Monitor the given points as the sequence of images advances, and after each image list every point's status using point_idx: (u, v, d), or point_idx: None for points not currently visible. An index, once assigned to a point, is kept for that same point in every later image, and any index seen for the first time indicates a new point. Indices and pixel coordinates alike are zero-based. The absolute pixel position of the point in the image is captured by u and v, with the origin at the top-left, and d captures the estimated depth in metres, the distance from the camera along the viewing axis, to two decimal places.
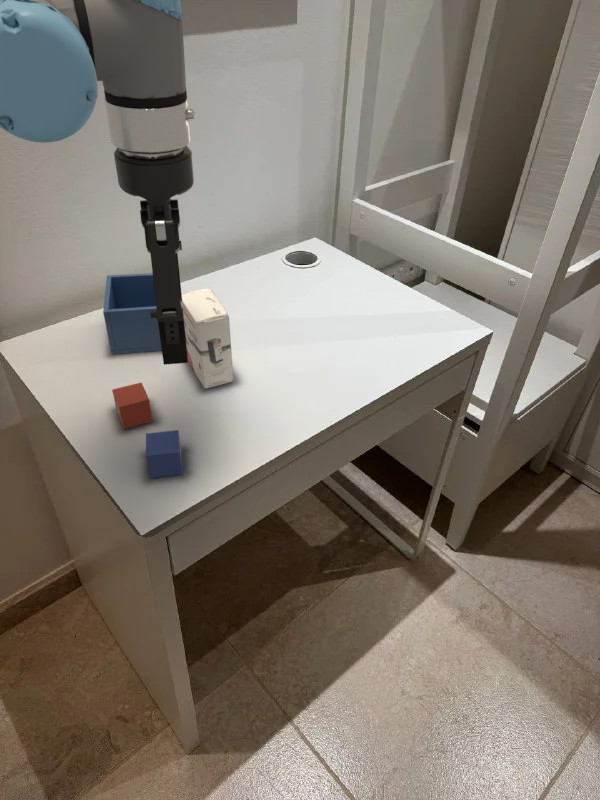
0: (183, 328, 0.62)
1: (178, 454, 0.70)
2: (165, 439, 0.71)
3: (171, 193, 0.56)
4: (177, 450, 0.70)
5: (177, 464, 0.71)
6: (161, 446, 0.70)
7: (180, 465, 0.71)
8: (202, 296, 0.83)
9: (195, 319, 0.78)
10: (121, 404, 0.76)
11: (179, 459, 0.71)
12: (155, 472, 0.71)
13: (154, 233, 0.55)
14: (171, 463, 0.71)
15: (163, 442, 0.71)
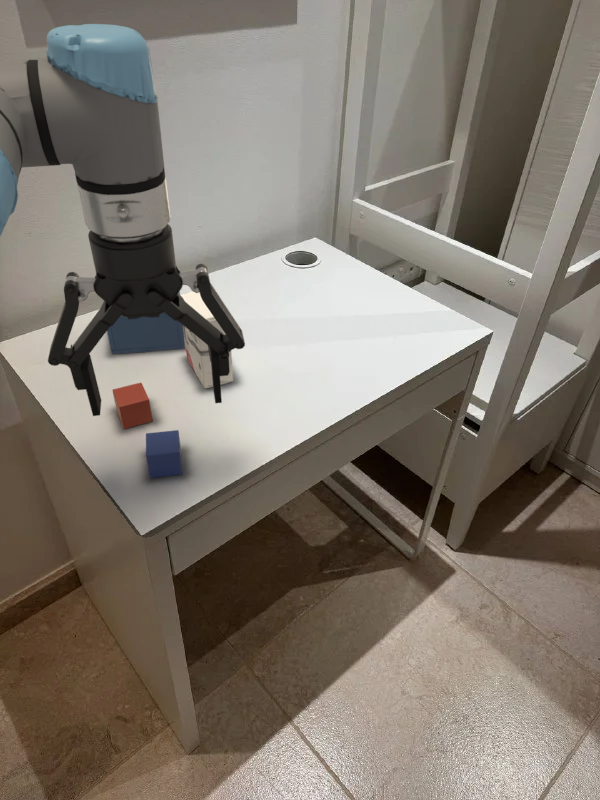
0: (84, 382, 0.62)
1: (178, 454, 0.70)
2: (165, 439, 0.71)
3: (96, 268, 0.54)
4: (177, 450, 0.70)
5: (177, 464, 0.71)
6: (161, 446, 0.70)
7: (180, 465, 0.71)
8: None
9: None
10: (121, 404, 0.76)
11: (179, 459, 0.71)
12: (155, 472, 0.71)
13: None
14: (171, 463, 0.71)
15: (163, 442, 0.71)
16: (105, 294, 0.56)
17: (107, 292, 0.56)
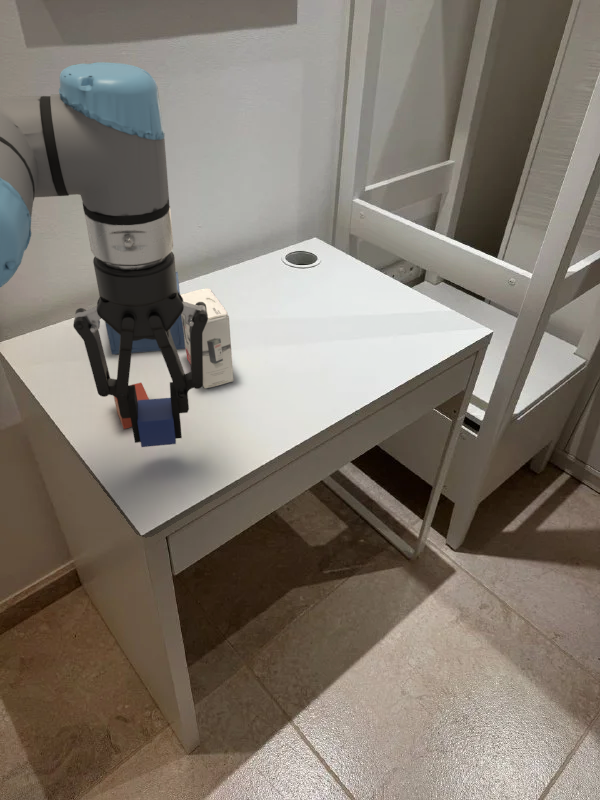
0: (129, 412, 0.65)
1: (171, 421, 0.66)
2: (158, 406, 0.68)
3: (100, 293, 0.55)
4: (170, 417, 0.66)
5: (170, 432, 0.67)
6: (153, 413, 0.67)
7: (173, 434, 0.68)
8: (202, 296, 0.83)
9: None
10: None
11: (172, 427, 0.67)
12: (147, 441, 0.68)
13: None
14: (163, 431, 0.67)
15: (156, 409, 0.67)
16: (108, 317, 0.57)
17: (110, 315, 0.57)
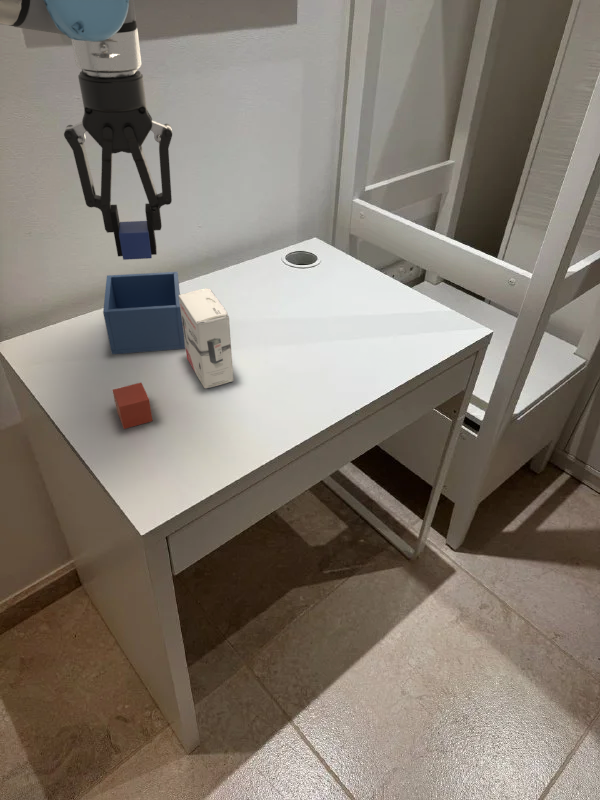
0: (112, 224, 0.80)
1: (147, 234, 0.81)
2: (136, 225, 0.82)
3: (84, 103, 0.70)
4: (146, 231, 0.81)
5: (146, 245, 0.82)
6: (132, 229, 0.81)
7: (149, 247, 0.82)
8: (202, 296, 0.83)
9: (195, 319, 0.78)
10: (121, 404, 0.76)
11: (148, 240, 0.81)
12: (127, 253, 0.82)
13: None
14: (141, 244, 0.82)
15: (134, 227, 0.82)
16: (91, 128, 0.72)
17: (93, 126, 0.72)
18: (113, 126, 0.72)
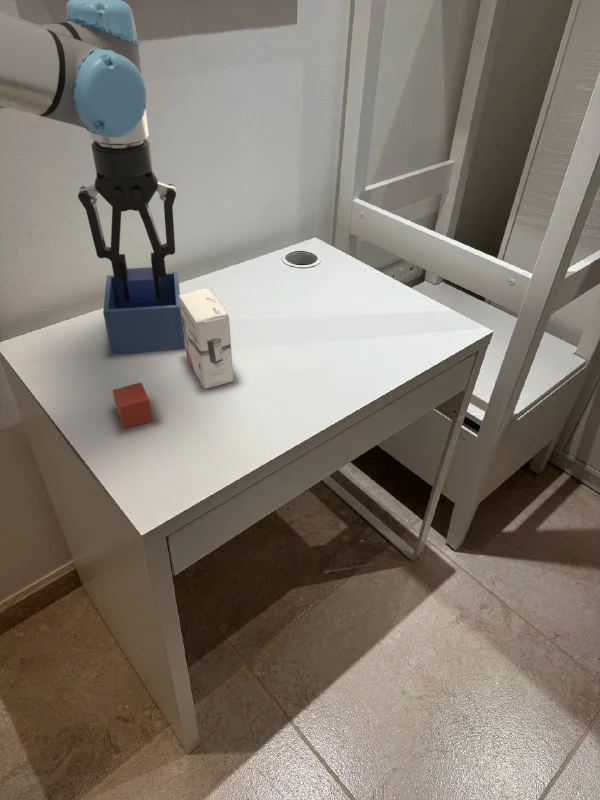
0: (121, 273, 0.87)
1: (152, 281, 0.88)
2: (143, 272, 0.90)
3: (96, 170, 0.77)
4: (151, 278, 0.88)
5: (152, 291, 0.89)
6: (138, 276, 0.89)
7: (154, 292, 0.90)
8: (202, 296, 0.83)
9: (195, 319, 0.78)
10: (121, 404, 0.76)
11: (153, 286, 0.89)
12: (134, 298, 0.89)
13: None
14: (147, 289, 0.89)
15: (141, 274, 0.89)
16: (103, 190, 0.79)
17: (104, 189, 0.79)
18: (122, 188, 0.79)
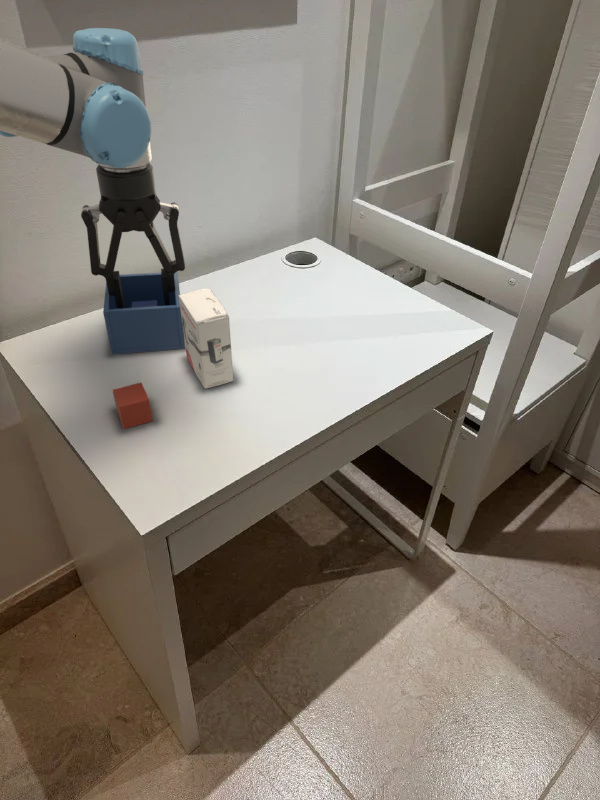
0: (115, 289, 0.89)
1: None
2: (147, 305, 0.93)
3: (101, 192, 0.79)
4: None
5: None
6: None
7: None
8: (202, 296, 0.83)
9: (195, 319, 0.78)
10: (121, 404, 0.76)
11: None
12: None
13: None
14: None
15: None
16: (107, 212, 0.81)
17: (108, 211, 0.81)
18: (126, 211, 0.82)
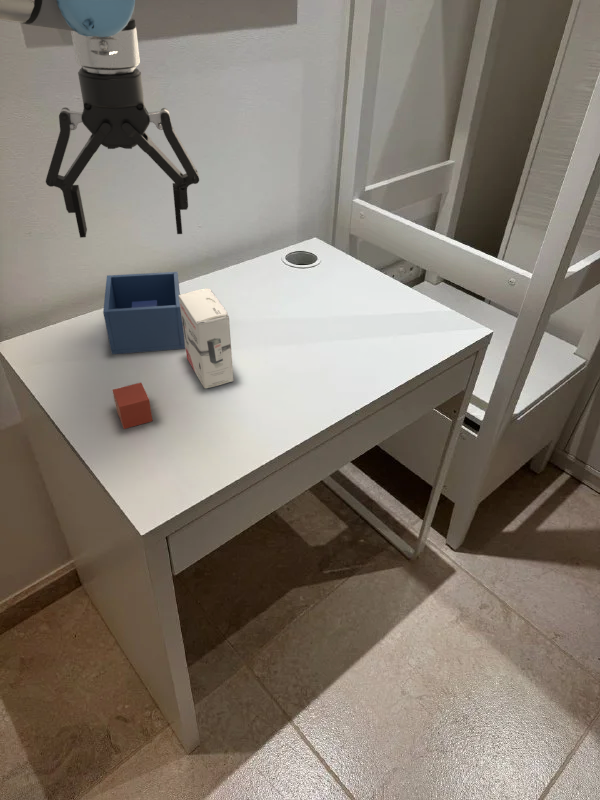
0: (73, 205, 0.79)
1: None
2: (147, 305, 0.93)
3: (83, 100, 0.71)
4: None
5: None
6: None
7: None
8: (202, 296, 0.83)
9: (195, 319, 0.78)
10: (121, 404, 0.76)
11: None
12: None
13: None
14: None
15: None
16: (90, 124, 0.74)
17: (92, 122, 0.73)
18: (113, 125, 0.74)
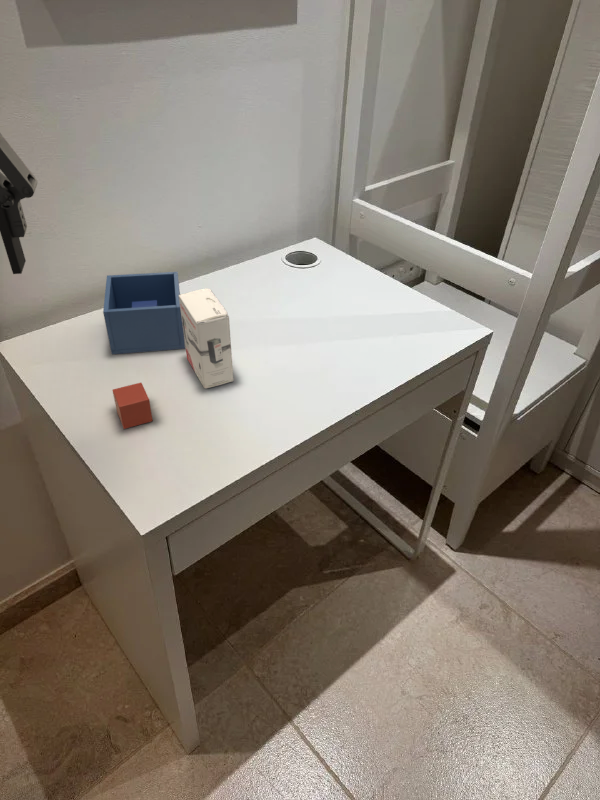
0: None
1: None
2: (147, 305, 0.93)
3: None
4: None
5: None
6: None
7: None
8: (202, 296, 0.83)
9: (195, 319, 0.78)
10: (121, 404, 0.76)
11: None
12: None
13: None
14: None
15: None
16: None
17: None
18: None
